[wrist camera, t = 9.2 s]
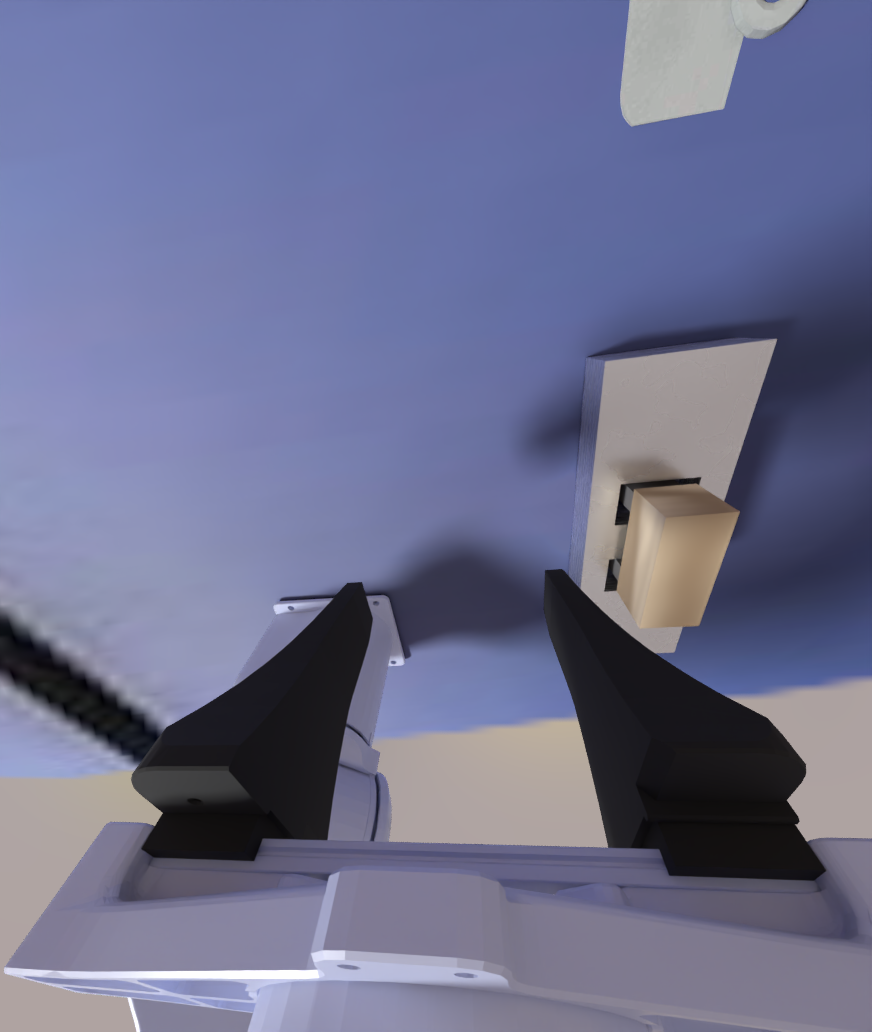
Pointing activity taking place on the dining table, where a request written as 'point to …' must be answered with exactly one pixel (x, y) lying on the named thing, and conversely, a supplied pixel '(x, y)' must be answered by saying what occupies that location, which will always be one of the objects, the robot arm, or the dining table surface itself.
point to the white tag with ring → (689, 52)
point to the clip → (671, 551)
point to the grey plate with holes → (656, 447)
